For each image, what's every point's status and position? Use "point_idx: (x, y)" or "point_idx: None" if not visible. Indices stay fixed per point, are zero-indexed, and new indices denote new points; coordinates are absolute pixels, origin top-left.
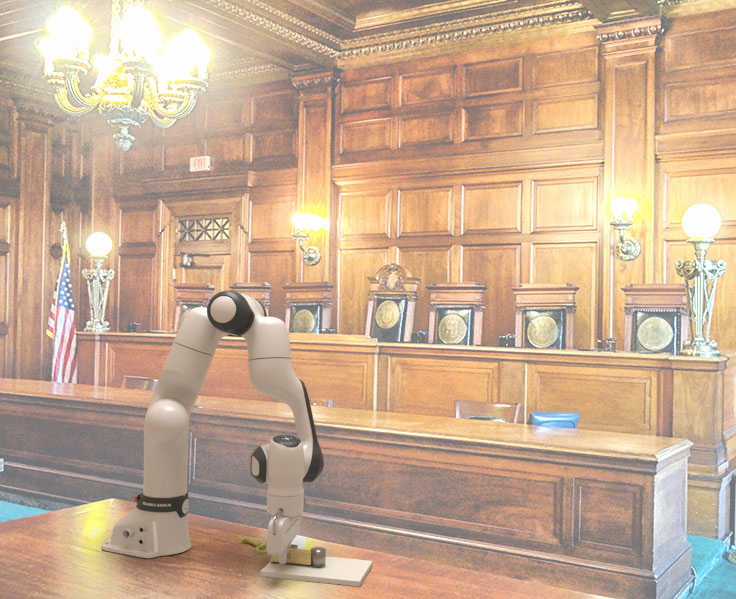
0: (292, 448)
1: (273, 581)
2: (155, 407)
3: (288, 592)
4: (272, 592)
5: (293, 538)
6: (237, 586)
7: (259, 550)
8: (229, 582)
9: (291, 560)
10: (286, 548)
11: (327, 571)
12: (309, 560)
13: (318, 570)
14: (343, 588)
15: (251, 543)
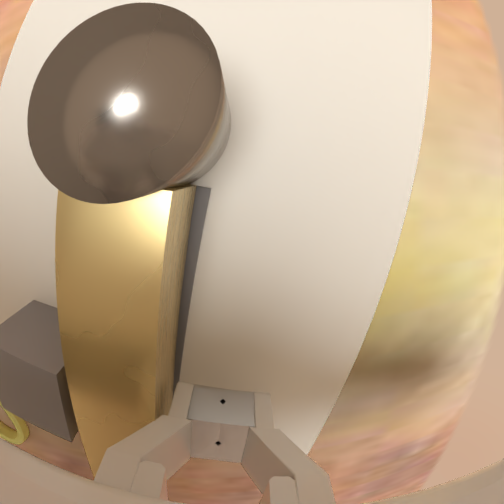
0: None
1: (375, 382)
2: None
3: (501, 288)
4: (485, 351)
5: (90, 495)
6: (398, 464)
7: (21, 437)
8: (355, 489)
9: (171, 356)
10: (307, 489)
11: (299, 48)
12: (188, 201)
13: (282, 114)
14: (453, 18)
15: None
